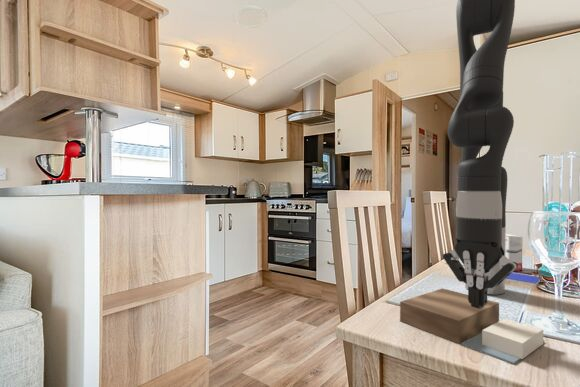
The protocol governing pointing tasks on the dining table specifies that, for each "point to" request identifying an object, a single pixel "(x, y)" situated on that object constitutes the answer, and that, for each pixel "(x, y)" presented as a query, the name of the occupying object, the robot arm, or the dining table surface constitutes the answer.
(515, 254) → the ink box
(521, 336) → the cream foam brick
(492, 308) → the brown wooden block
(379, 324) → the dining table surface
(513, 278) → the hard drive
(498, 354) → the mat
